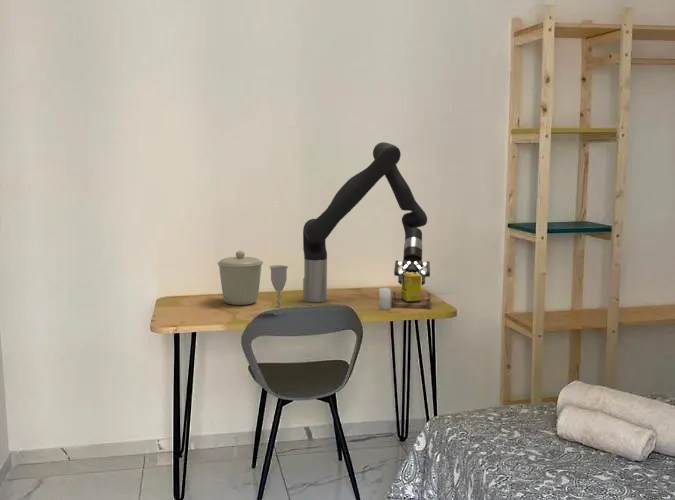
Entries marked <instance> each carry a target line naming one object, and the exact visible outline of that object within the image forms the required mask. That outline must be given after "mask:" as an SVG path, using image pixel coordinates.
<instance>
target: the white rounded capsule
mask: <svg viewBox="0 0 675 500" xmlns="http://www.w3.org/2000/svg"><path fill="white" fill-rule="evenodd" d="M391 293H392V289H391V287H379V293H378V295H379V297H378V299H379V301H378V305H379V306H378V307H379V308H378V310H380V311H389V310H391V308H392V294H391Z"/></svg>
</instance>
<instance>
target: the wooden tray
mask: <svg viewBox="0 0 675 500" xmlns="http://www.w3.org/2000/svg"><path fill="white" fill-rule="evenodd" d="M396 293H397V292H396V291H393V292H392V294H391V308H393V309H395V308H396V309H418V310H419V309H420V310H421V309H424V310H425V309H426V310H428V309H429V310H431V293H430V292H427V298H420V302H417V303H406V302H405V301H403V300H402V297H400V298H399V297H396V295H397V294H396Z"/></svg>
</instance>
